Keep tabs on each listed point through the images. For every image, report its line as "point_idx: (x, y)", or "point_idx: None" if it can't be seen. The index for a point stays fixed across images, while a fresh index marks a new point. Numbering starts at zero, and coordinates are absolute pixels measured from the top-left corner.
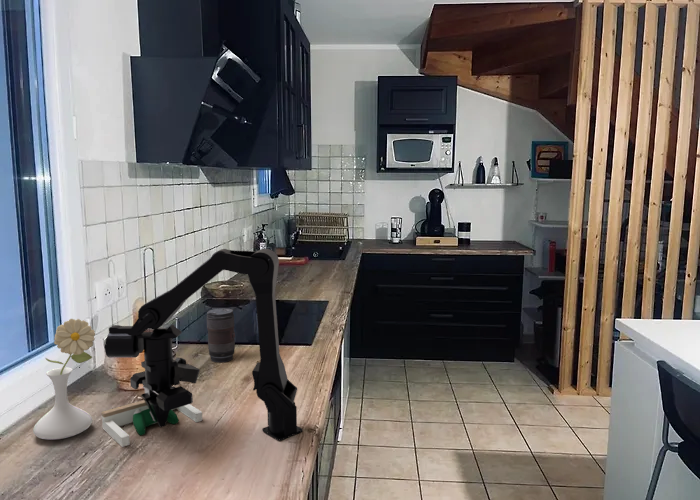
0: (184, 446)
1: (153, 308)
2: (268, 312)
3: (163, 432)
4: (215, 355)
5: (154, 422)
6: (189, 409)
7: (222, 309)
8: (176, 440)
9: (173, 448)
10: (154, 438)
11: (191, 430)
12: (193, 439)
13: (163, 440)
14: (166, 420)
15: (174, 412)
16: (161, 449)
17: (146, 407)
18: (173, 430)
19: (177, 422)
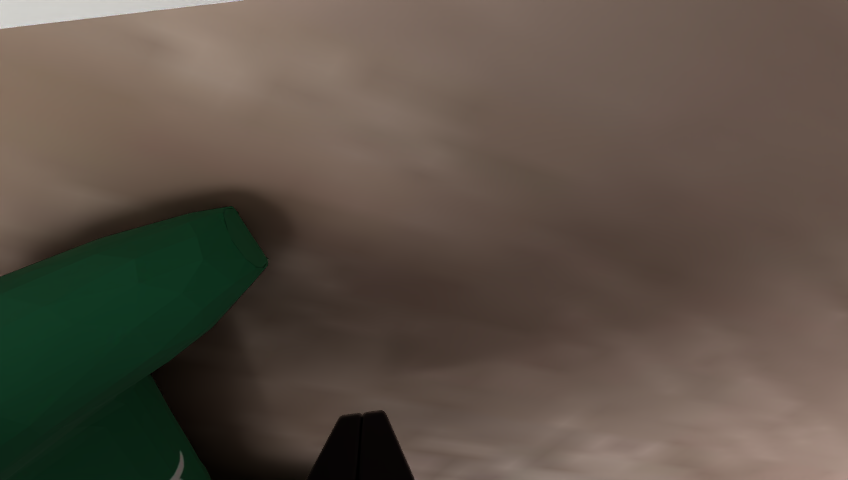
0: (839, 307)
1: None
2: None
3: (405, 379)
4: None
5: (192, 448)
6: (18, 18)
7: None
8: (666, 330)
9: (776, 380)
10: (475, 448)
11: (579, 135)
12: (807, 195)
13: (569, 408)
14: (408, 465)
15: (72, 293)
16: (702, 443)
17: None
18: (424, 300)
19: (239, 219)
